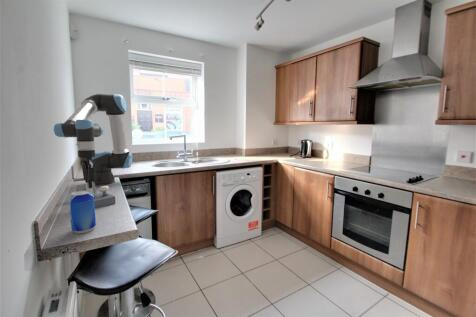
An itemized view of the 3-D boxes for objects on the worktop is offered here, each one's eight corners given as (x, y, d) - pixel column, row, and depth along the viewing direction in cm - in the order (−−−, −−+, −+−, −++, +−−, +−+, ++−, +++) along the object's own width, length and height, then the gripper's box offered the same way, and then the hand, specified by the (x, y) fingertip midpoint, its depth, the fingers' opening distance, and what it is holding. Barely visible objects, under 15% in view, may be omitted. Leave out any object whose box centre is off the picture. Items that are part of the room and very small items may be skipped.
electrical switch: (79, 201, 130) (77, 185, 129) (76, 200, 133) (74, 184, 132) (97, 197, 137) (95, 182, 136) (94, 197, 140) (92, 182, 140)
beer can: (93, 223, 101) (90, 188, 99) (98, 230, 95) (95, 192, 93) (70, 229, 96) (66, 192, 93) (73, 236, 90) (69, 196, 87)
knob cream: (107, 194, 132) (106, 185, 131) (110, 196, 129) (109, 186, 128) (98, 196, 128) (98, 186, 128) (102, 198, 126) (101, 188, 125)
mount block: (106, 198, 135) (106, 192, 135) (115, 203, 128) (115, 196, 127) (81, 204, 125) (80, 197, 125) (89, 209, 118) (88, 202, 117)
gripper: (73, 149, 121) (77, 192, 124) (82, 151, 112) (86, 197, 116) (89, 148, 126) (93, 189, 130) (99, 149, 118) (102, 194, 121)
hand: (90, 193), depth 123 cm, fingers closed
